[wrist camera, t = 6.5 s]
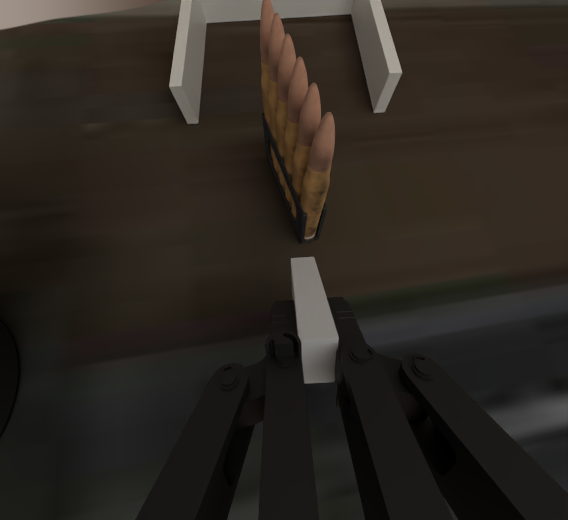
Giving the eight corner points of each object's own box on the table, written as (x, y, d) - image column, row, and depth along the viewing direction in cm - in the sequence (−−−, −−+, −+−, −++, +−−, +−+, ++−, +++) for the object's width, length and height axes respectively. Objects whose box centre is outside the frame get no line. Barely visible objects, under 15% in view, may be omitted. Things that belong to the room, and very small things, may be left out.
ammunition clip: (266, 156, 23) (244, -12, 11) (283, 151, 23) (277, -20, 12) (300, 244, 20) (316, 135, 8) (319, 238, 20) (359, 123, 9)
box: (187, 123, 24) (169, 86, 21) (198, 18, 30) (185, -27, 26) (384, 112, 24) (402, 72, 20) (358, 8, 30) (368, -39, 26)
